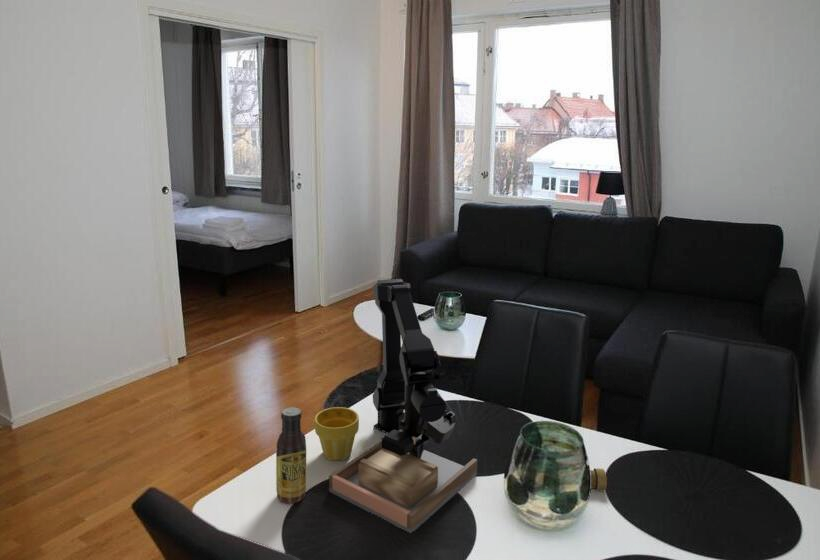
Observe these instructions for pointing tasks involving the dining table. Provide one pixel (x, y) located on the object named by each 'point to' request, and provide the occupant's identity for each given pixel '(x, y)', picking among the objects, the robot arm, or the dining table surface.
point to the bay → (392, 511)
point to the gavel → (598, 479)
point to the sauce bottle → (291, 458)
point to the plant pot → (337, 431)
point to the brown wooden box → (398, 476)
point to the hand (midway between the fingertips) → (416, 462)
